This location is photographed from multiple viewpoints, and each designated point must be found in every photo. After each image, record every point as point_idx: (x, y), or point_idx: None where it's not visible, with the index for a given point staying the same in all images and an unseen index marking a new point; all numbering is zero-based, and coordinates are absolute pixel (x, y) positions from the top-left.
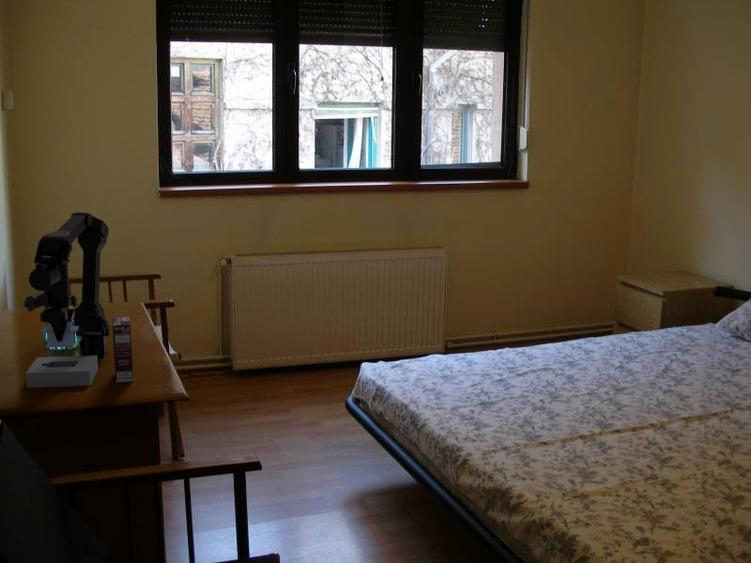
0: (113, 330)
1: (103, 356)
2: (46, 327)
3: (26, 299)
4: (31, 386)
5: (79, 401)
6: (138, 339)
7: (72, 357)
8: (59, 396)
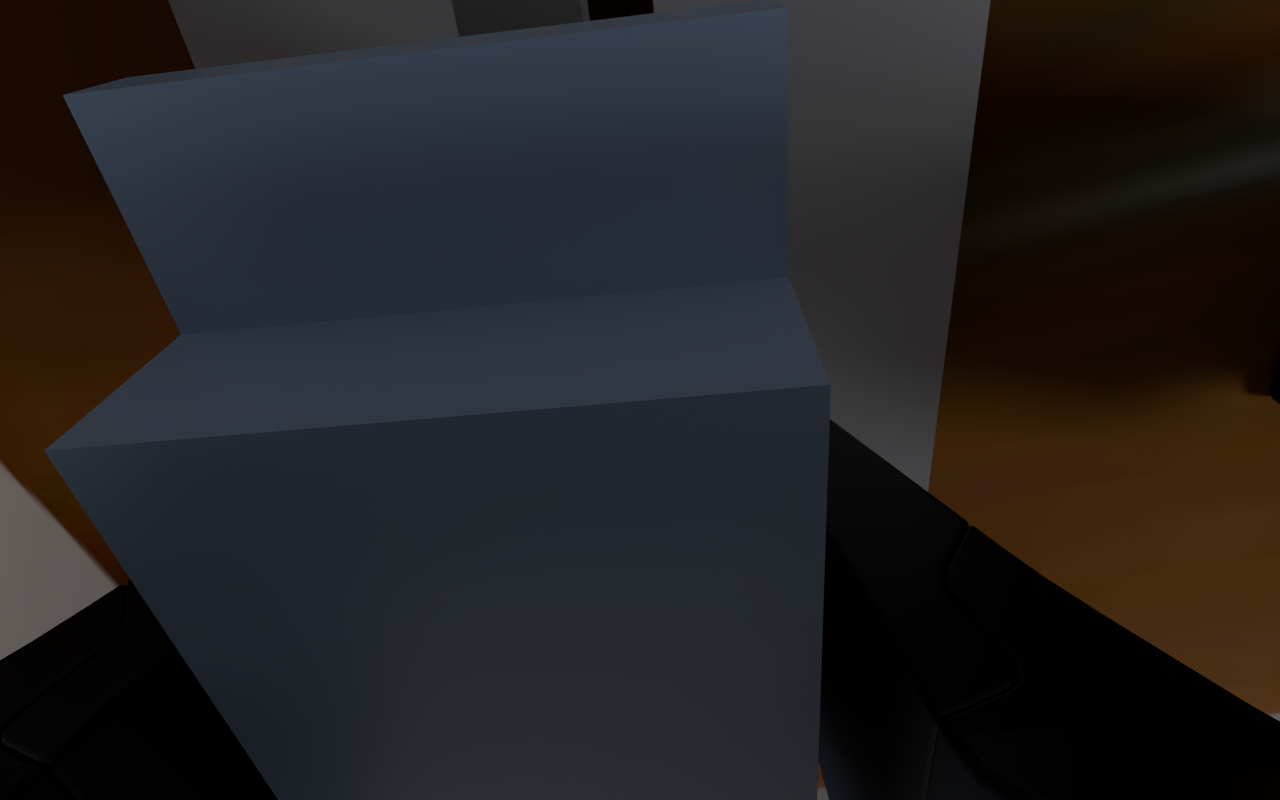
0: None
1: (1278, 400)
2: (656, 181)
3: None
4: None
5: (46, 469)
6: None
7: (902, 279)
8: (88, 294)
